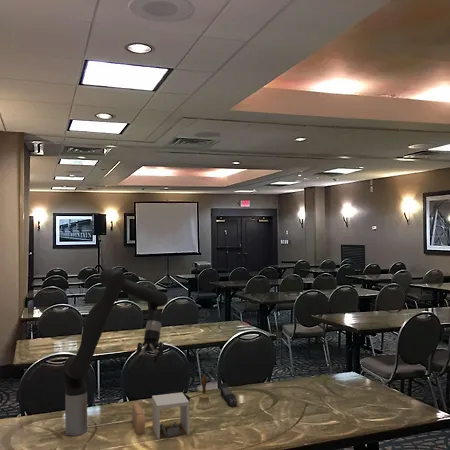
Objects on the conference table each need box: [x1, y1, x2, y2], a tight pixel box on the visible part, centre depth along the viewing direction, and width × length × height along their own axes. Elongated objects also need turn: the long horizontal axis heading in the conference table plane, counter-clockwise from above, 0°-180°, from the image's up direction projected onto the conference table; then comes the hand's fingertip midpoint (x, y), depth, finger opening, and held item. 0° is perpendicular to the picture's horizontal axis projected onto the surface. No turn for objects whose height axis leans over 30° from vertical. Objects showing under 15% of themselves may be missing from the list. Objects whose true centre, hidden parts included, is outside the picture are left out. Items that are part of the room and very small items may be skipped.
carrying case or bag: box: [164, 390, 190, 402], centre depth 256 cm, size 11×3×15 cm
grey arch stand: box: [151, 391, 191, 440], centre depth 213 cm, size 14×14×14 cm
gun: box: [218, 382, 238, 408], centre depth 252 cm, size 4×20×10 cm, turn 17°
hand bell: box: [195, 374, 213, 410], centre depth 244 cm, size 8×8×16 cm
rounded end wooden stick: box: [131, 402, 146, 436], centre depth 218 cm, size 18×4×8 cm, turn 17°
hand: (147, 364), depth 233 cm, fingers open, 8 cm apart
